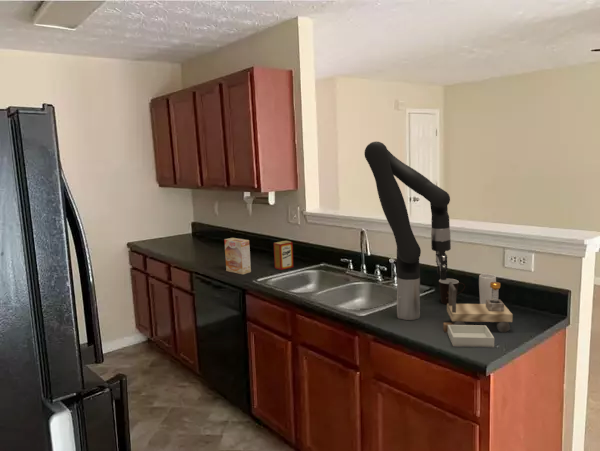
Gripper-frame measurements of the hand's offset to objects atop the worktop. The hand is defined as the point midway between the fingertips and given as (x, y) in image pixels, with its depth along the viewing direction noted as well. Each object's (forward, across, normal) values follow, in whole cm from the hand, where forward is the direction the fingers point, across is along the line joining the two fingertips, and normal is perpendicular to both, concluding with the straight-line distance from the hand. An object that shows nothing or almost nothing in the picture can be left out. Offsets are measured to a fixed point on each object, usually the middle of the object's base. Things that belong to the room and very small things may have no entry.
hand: (441, 276), depth 198 cm
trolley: (+18, +10, +12) cm, 24 cm away
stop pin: (+11, +10, +18) cm, 23 cm away
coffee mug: (+18, -19, +7) cm, 27 cm away
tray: (+18, +24, +6) cm, 30 cm away
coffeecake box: (+14, -74, -107) cm, 131 cm away
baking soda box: (+15, -83, -81) cm, 117 cm away
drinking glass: (+18, -10, +20) cm, 29 cm away
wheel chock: (+17, +15, 0) cm, 23 cm away
